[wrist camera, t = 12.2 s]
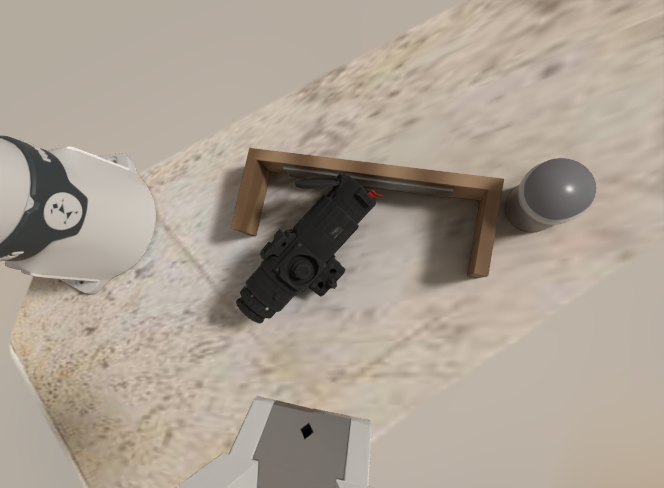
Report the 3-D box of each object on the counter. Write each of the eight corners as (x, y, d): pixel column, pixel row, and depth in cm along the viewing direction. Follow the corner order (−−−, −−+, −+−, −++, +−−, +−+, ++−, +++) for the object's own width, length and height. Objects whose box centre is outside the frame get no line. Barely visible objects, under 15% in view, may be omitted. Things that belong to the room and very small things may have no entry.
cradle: (247, 234, 42) (230, 228, 38) (264, 161, 42) (249, 148, 38) (479, 277, 35) (488, 276, 31) (493, 191, 36) (503, 179, 32)
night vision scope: (275, 312, 42) (207, 265, 38) (374, 203, 41) (317, 143, 37) (287, 350, 35) (204, 297, 31) (407, 219, 34) (340, 147, 30)
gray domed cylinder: (499, 229, 35) (520, 214, 29) (507, 178, 36) (529, 152, 29) (557, 238, 34) (594, 224, 27) (565, 185, 35) (603, 160, 28)
